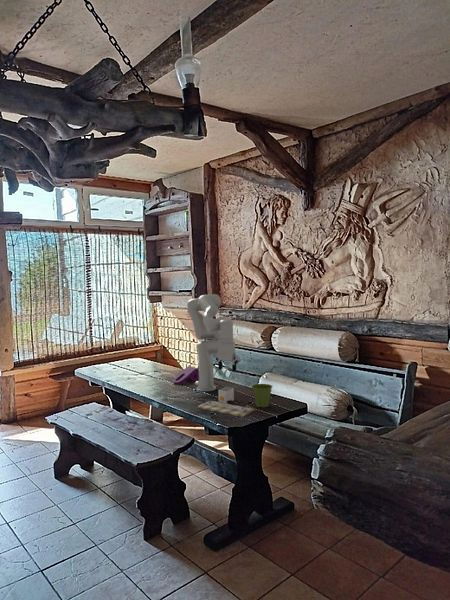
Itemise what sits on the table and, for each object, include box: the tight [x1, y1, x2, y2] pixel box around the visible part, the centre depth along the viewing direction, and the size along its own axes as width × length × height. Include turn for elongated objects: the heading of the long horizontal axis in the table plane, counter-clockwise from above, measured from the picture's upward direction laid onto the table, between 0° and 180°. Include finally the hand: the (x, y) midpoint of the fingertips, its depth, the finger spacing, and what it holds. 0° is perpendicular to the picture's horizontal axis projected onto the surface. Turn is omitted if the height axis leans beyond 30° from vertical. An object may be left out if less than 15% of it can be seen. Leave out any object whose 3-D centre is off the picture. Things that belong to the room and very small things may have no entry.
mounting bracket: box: [172, 365, 199, 386], centre depth 315 cm, size 9×8×18 cm
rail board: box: [197, 400, 256, 418], centre depth 252 cm, size 30×12×1 cm, turn 55°
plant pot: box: [251, 383, 273, 408], centre depth 257 cm, size 12×12×11 cm
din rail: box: [204, 400, 248, 412], centre depth 252 cm, size 26×4×2 cm, turn 55°
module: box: [217, 386, 235, 404], centre depth 266 cm, size 5×9×8 cm, turn 145°
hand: (227, 370), depth 265 cm, fingers open, 9 cm apart
